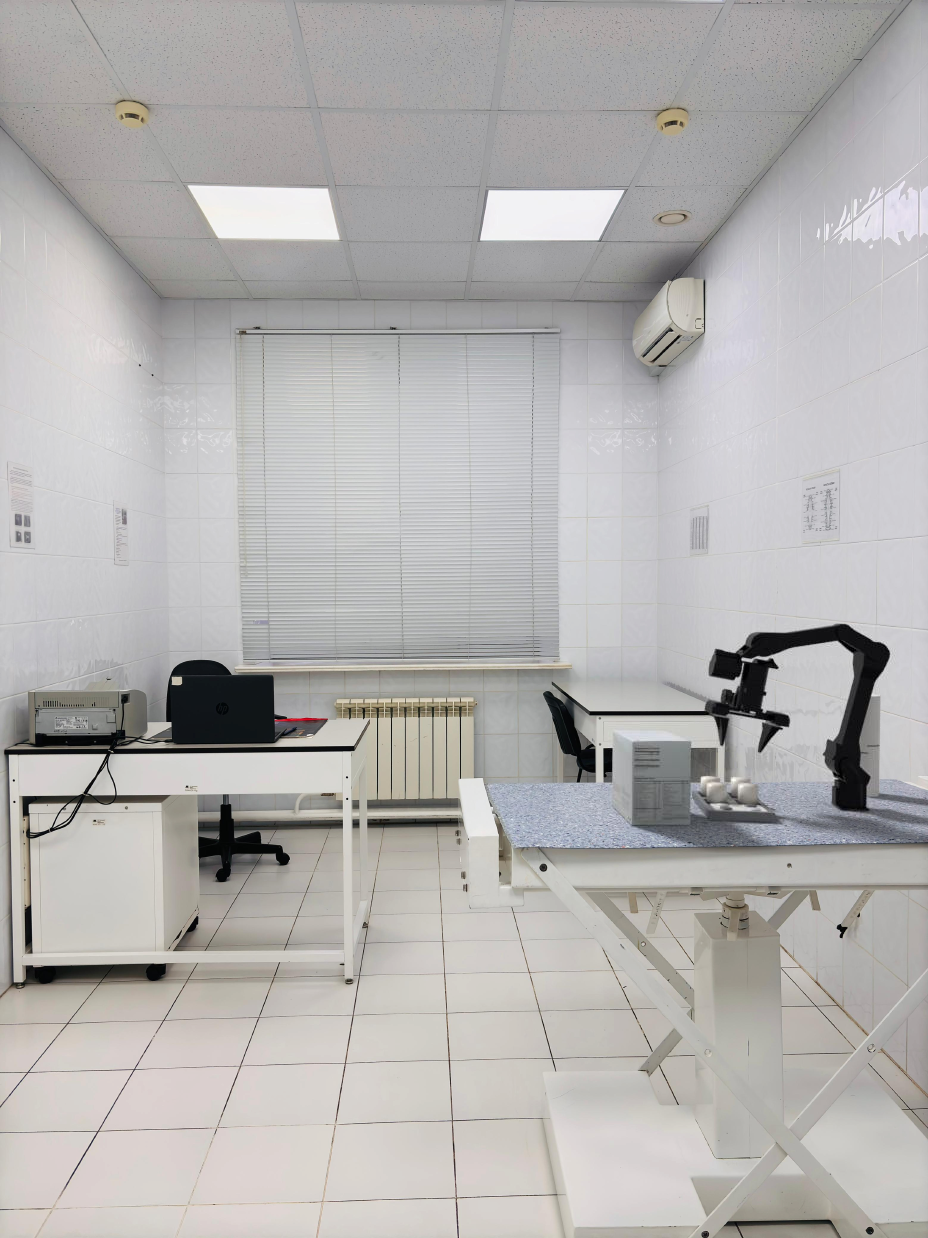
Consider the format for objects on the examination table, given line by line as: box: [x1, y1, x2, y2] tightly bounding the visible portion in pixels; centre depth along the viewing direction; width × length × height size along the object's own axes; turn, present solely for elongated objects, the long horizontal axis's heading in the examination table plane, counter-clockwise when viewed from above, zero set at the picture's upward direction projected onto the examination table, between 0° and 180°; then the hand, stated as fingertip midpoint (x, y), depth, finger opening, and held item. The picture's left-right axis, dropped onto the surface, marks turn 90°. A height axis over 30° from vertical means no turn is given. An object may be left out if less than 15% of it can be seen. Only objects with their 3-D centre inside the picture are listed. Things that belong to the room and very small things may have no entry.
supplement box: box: [611, 729, 692, 826], centre depth 180 cm, size 17×13×18 cm
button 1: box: [700, 775, 721, 796], centre depth 192 cm, size 4×4×4 cm
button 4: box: [738, 783, 759, 805], centre depth 185 cm, size 4×4×4 cm
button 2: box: [707, 782, 728, 804], centre depth 185 cm, size 4×4×4 cm
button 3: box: [730, 776, 752, 797], centre depth 192 cm, size 4×4×4 cm
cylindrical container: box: [859, 693, 881, 798], centre depth 204 cm, size 7×7×25 cm
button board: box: [691, 790, 776, 823], centre depth 186 cm, size 14×20×2 cm
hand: (740, 749), depth 191 cm, fingers open, 9 cm apart
